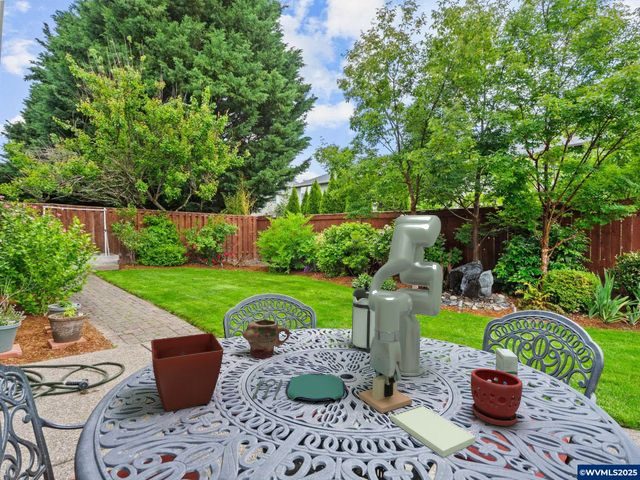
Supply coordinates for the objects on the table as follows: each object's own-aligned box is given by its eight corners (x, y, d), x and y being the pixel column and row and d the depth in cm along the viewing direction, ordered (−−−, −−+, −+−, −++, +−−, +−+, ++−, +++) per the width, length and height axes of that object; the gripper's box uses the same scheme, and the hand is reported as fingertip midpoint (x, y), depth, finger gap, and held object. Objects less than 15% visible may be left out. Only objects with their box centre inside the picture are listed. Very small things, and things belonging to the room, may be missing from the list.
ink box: (518, 391, 114) (519, 356, 114) (502, 389, 115) (503, 355, 115) (509, 380, 122) (510, 348, 122) (494, 379, 123) (495, 347, 123)
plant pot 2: (520, 435, 88) (522, 390, 88) (466, 420, 95) (467, 378, 95) (521, 414, 99) (523, 373, 99) (473, 401, 106) (474, 363, 106)
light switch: (358, 397, 107) (359, 373, 106) (387, 389, 113) (388, 367, 113) (381, 413, 97) (382, 387, 97) (411, 403, 103) (412, 379, 103)
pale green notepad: (390, 420, 94) (390, 414, 94) (420, 409, 100) (421, 404, 100) (443, 457, 78) (443, 450, 78) (475, 442, 84) (475, 436, 84)
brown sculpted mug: (288, 349, 151) (289, 318, 150) (290, 359, 138) (291, 325, 138) (243, 350, 148) (243, 318, 147) (240, 360, 136) (241, 326, 135)
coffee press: (386, 353, 148) (388, 285, 147) (350, 352, 148) (351, 284, 147) (380, 341, 165) (381, 280, 165) (347, 340, 165) (348, 279, 165)
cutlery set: (347, 406, 101) (347, 399, 101) (248, 404, 102) (248, 397, 102) (344, 379, 121) (344, 373, 121) (262, 377, 122) (262, 371, 122)
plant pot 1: (150, 421, 90) (152, 359, 90) (149, 391, 107) (150, 339, 107) (223, 406, 99) (224, 349, 99) (211, 381, 116) (212, 332, 116)
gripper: (360, 330, 110) (359, 386, 110) (395, 344, 96) (394, 408, 96) (378, 327, 113) (377, 381, 114) (414, 340, 100) (413, 402, 100)
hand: (385, 393), depth 105 cm, fingers closed on light switch, 2 cm apart
